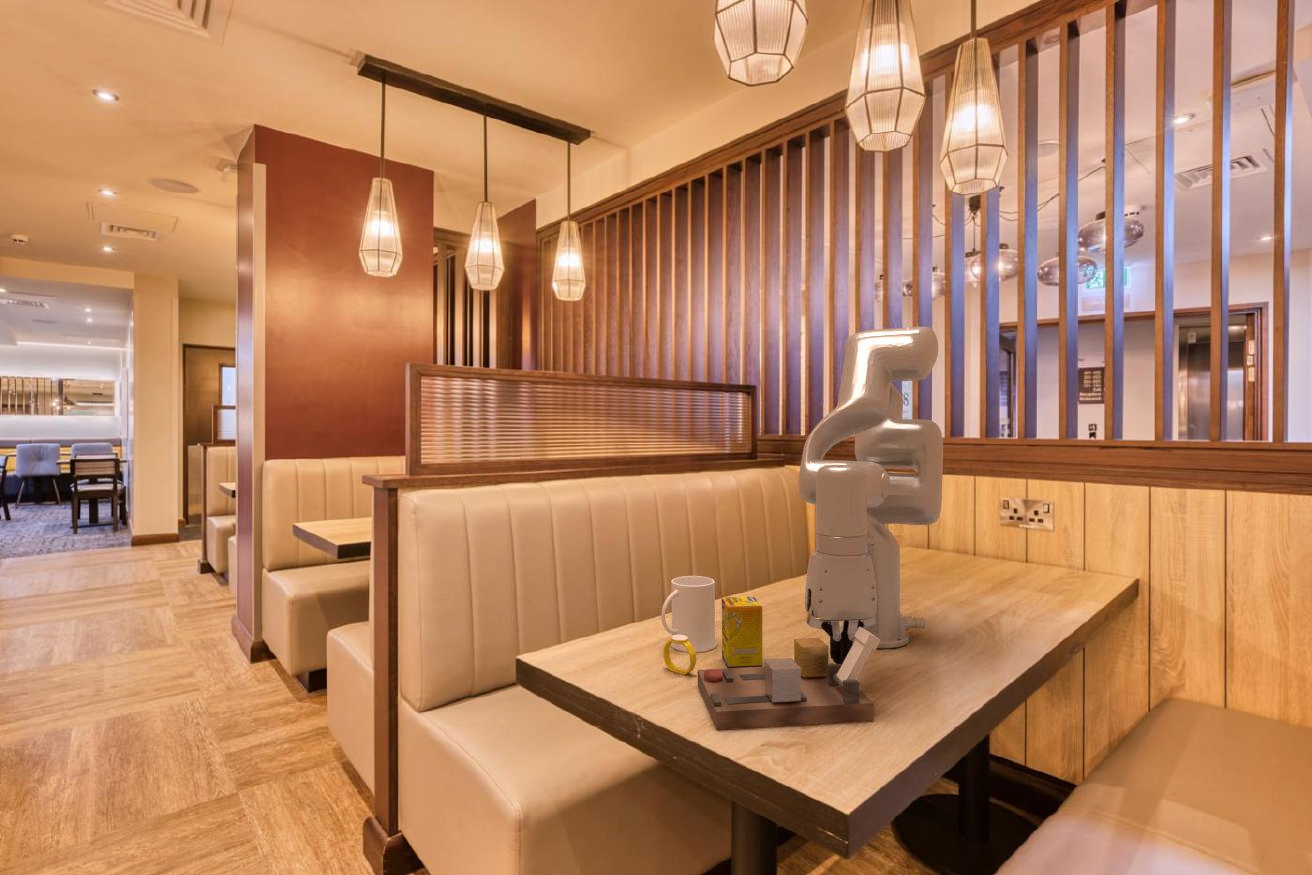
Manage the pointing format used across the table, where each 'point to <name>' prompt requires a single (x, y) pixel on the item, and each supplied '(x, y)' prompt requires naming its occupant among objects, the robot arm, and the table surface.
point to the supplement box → (741, 632)
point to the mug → (692, 612)
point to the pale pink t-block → (856, 656)
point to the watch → (684, 640)
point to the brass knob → (811, 656)
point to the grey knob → (782, 680)
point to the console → (747, 705)
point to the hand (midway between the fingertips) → (841, 663)
